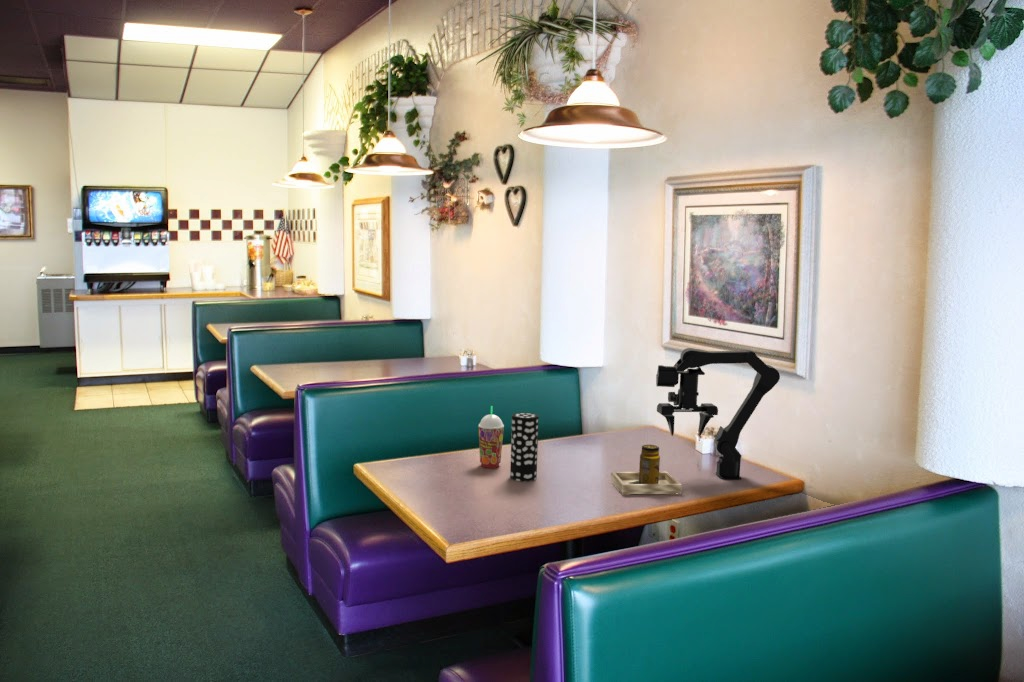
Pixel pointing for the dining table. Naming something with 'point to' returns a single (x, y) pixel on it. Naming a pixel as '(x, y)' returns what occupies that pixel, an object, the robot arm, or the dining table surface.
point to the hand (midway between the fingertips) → (685, 435)
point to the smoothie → (490, 440)
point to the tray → (664, 487)
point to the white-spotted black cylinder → (524, 446)
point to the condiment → (649, 465)
